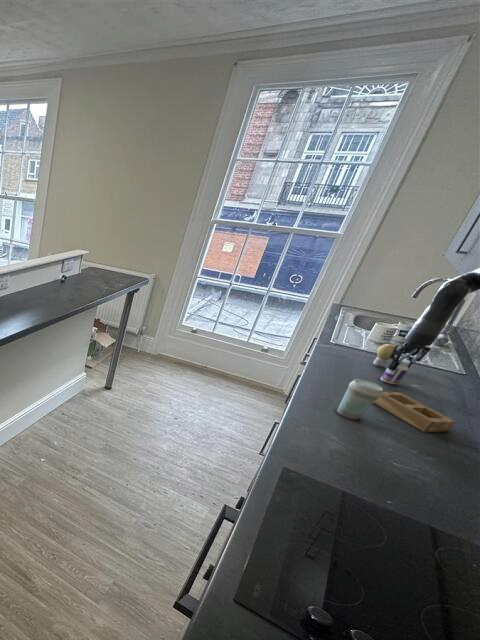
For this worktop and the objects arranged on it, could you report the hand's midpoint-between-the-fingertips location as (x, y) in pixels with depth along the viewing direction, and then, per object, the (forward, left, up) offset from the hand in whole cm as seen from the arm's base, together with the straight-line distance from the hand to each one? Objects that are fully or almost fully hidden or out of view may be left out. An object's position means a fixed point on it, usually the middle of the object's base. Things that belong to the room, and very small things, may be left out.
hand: (397, 369), depth 160 cm
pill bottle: (0, 0, -6) cm, 6 cm away
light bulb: (-12, -14, -6) cm, 19 cm away
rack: (+20, +23, -6) cm, 31 cm away
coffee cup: (+44, +22, -6) cm, 50 cm away
